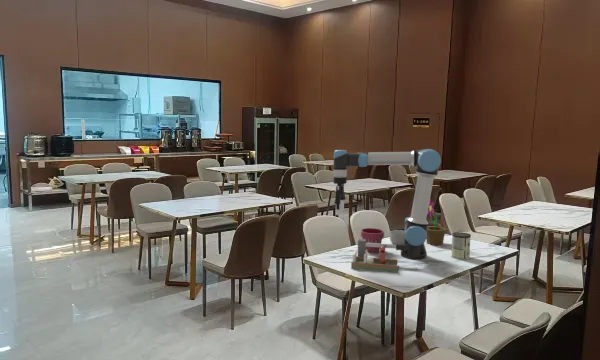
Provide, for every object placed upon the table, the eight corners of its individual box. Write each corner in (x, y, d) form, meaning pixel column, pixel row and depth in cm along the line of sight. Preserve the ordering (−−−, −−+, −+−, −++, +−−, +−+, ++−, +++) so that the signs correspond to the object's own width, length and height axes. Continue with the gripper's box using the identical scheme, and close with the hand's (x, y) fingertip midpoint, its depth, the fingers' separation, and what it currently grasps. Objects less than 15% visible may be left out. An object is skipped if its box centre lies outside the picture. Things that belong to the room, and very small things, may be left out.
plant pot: (386, 253, 271) (386, 233, 269) (363, 254, 270) (363, 233, 268) (380, 247, 285) (380, 227, 283) (358, 247, 284) (358, 228, 282)
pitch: (397, 262, 253) (398, 241, 251) (396, 272, 236) (397, 249, 234) (354, 259, 258) (355, 238, 257) (351, 268, 241) (351, 246, 240)
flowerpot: (420, 241, 303) (422, 197, 299) (440, 240, 304) (442, 197, 301) (428, 246, 288) (430, 200, 285) (449, 246, 290) (452, 200, 286)
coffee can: (452, 254, 272) (453, 231, 270) (470, 256, 268) (471, 233, 266) (450, 258, 263) (451, 235, 261) (468, 260, 258) (470, 236, 257)
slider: (406, 260, 250) (407, 243, 249) (406, 267, 238) (407, 249, 237) (357, 256, 257) (357, 239, 256) (354, 263, 244) (355, 245, 243)
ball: (373, 263, 246) (374, 256, 246) (373, 265, 242) (373, 258, 242) (366, 262, 247) (366, 255, 247) (366, 264, 243) (366, 257, 243)
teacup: (406, 246, 289) (406, 234, 288) (389, 245, 291) (389, 233, 290) (405, 240, 303) (406, 229, 302) (389, 239, 305) (389, 228, 304)
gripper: (337, 174, 271) (336, 208, 274) (329, 178, 247) (329, 216, 250) (349, 174, 269) (349, 209, 272) (343, 179, 245) (343, 217, 248)
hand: (339, 212), depth 261 cm, fingers open, 13 cm apart
